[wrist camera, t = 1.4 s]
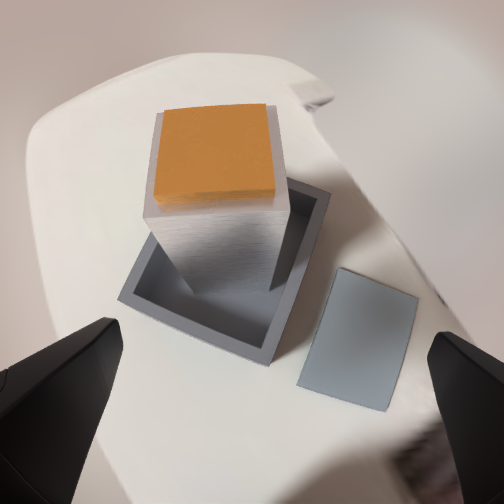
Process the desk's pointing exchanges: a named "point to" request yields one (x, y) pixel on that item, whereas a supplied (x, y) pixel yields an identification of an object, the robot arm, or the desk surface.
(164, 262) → the case
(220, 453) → the desk surface
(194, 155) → the block
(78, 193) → the desk surface
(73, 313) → the desk surface
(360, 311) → the mat
